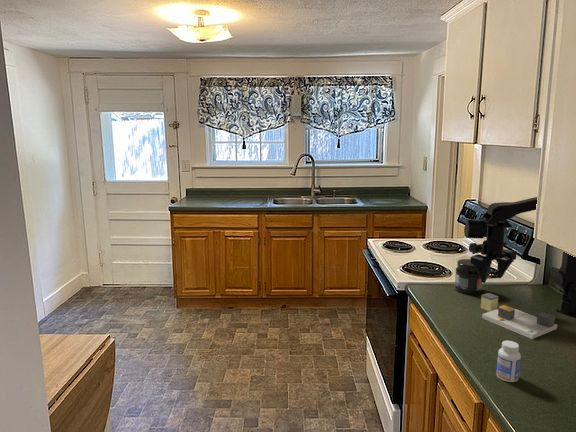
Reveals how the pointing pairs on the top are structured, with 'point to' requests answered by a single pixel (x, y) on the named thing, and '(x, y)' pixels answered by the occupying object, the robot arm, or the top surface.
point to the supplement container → (467, 278)
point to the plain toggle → (545, 319)
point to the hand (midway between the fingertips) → (491, 280)
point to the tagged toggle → (506, 312)
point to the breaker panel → (519, 323)
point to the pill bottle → (508, 362)
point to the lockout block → (489, 301)
